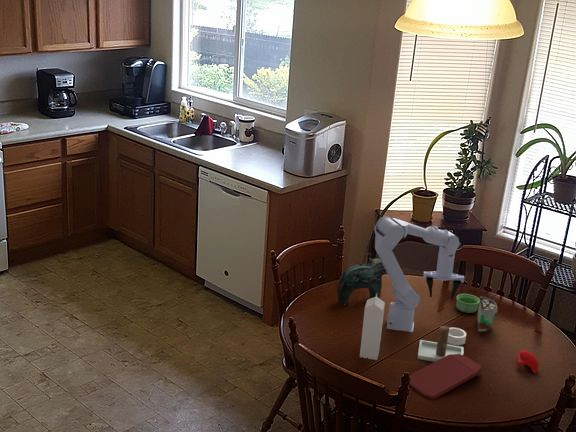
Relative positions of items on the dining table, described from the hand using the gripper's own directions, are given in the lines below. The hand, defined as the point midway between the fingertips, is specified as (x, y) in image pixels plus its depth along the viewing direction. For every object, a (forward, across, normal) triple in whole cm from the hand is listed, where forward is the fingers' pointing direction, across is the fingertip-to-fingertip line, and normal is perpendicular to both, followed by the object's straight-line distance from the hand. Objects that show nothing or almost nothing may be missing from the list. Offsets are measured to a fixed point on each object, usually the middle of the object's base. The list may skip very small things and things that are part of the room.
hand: (441, 297), depth 261 cm
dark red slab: (+11, +2, -40) cm, 41 cm away
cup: (+10, +6, -13) cm, 18 cm away
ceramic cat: (+10, -30, +9) cm, 33 cm away
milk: (+10, -24, -31) cm, 40 cm away
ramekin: (+11, +12, +15) cm, 22 cm away
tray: (+10, 0, -25) cm, 27 cm away
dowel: (+10, 0, -25) cm, 27 cm away
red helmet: (+11, +29, -25) cm, 40 cm away
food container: (+11, +18, 0) cm, 21 cm away
